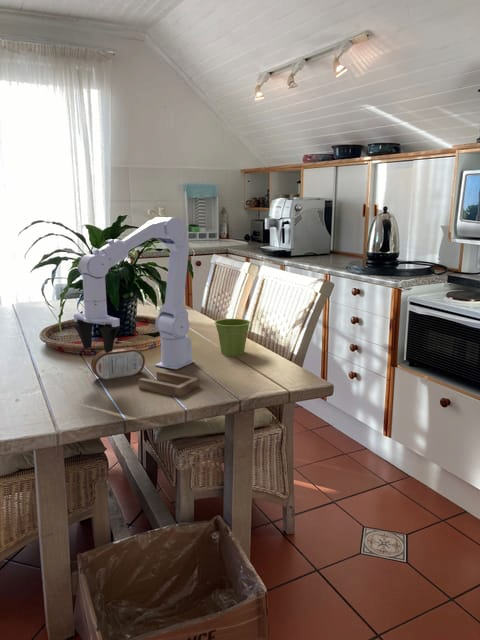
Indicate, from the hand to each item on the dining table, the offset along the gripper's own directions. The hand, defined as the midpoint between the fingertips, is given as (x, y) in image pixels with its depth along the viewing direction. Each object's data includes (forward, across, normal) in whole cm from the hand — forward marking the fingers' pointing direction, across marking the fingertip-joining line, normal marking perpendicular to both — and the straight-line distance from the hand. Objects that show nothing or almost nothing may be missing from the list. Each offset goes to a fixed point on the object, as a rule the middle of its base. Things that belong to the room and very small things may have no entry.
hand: (98, 349), depth 141 cm
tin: (+10, +1, +7) cm, 12 cm away
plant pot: (+10, +17, +43) cm, 47 cm away
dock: (+10, +18, +7) cm, 21 cm away
